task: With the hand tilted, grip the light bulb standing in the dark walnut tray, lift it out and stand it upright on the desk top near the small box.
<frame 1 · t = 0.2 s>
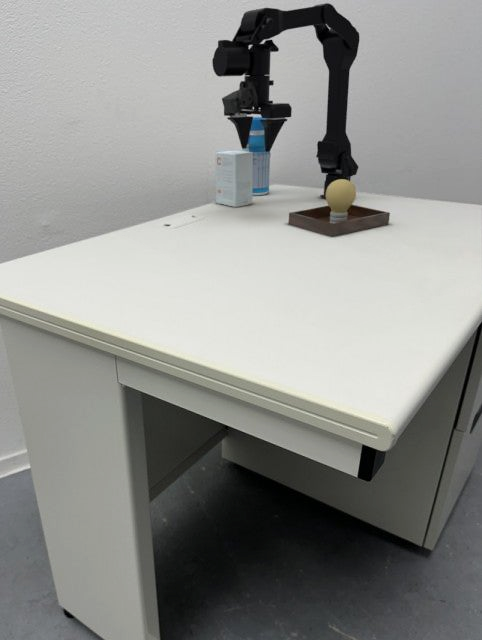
hand: (255, 150, 130), 15 cm above the table, tool pointing down, fingers open, 9 cm apart
walnut tray: (337, 224, 124), on the table
light bulb: (337, 227, 122), resting on walnut tray
beverage bottle: (254, 193, 159), on the table
small box: (234, 204, 147), on the table
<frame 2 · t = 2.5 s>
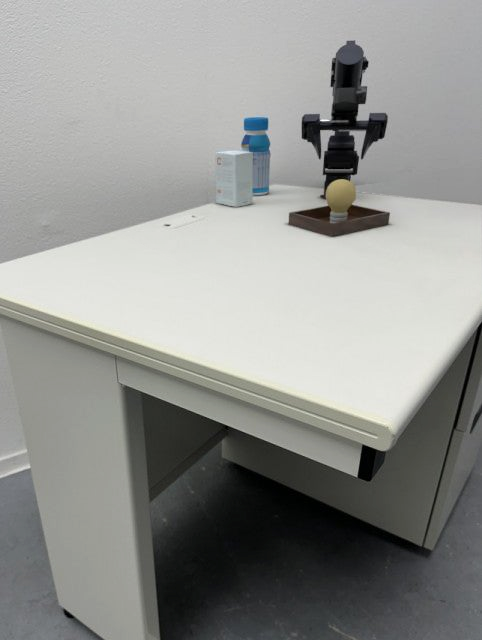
hand: (340, 158, 122), 13 cm above the table, tool tilted 45°, fingers open, 9 cm apart
nothing on the table moved.
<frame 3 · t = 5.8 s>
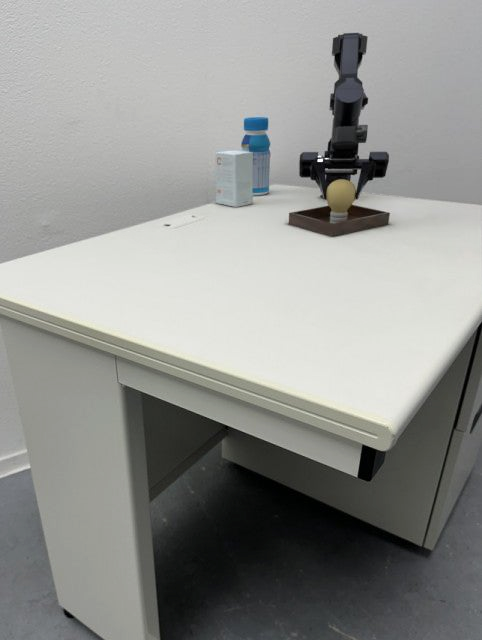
hand: (340, 198, 117), 7 cm above the table, tool tilted 45°, fingers closed on light bulb, 6 cm apart
light bulb: (337, 227, 122), resting on walnut tray, touching gripper
everything else where it was.
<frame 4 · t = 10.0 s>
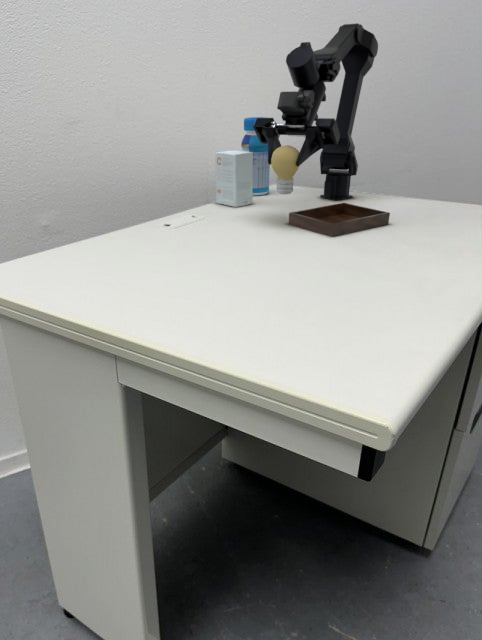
hand: (282, 164, 118), 13 cm above the table, tool tilted 45°, fingers closed on light bulb, 6 cm apart
light bulb: (284, 194, 122), point 7 cm above the table, touching gripper
everything else where it was.
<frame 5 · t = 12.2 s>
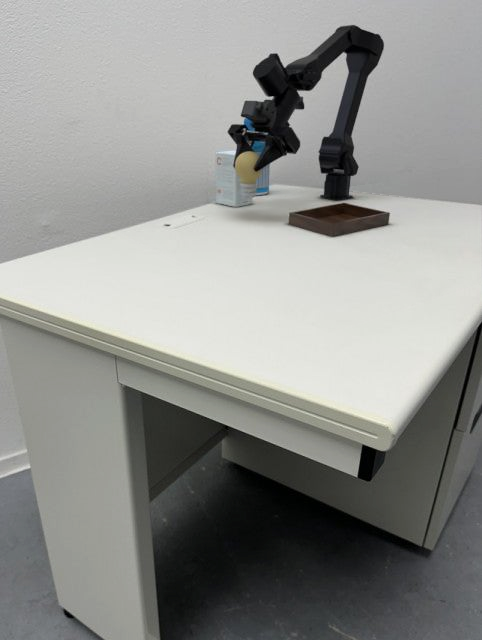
hand: (244, 169, 125), 12 cm above the table, tool tilted 45°, fingers closed on light bulb, 6 cm apart
light bulb: (248, 197, 129), point 5 cm above the table, touching gripper
everything else where it was.
when the fingers open (6 cm above the table, at t = 14.2 s): light bulb stays where it is, on the table.
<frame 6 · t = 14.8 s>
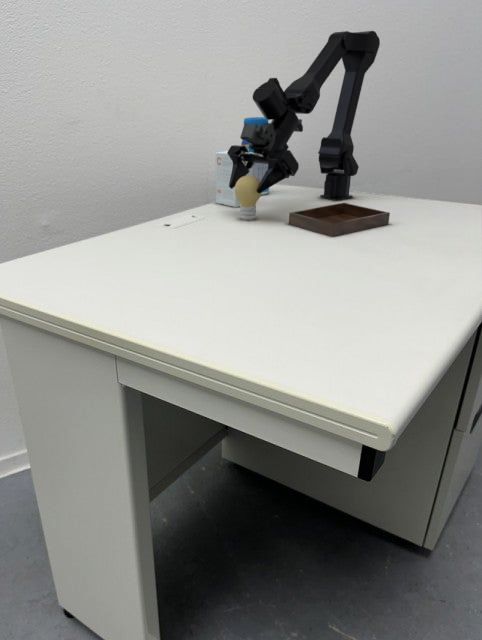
hand: (243, 189, 127), 7 cm above the table, tool tilted 45°, fingers open, 9 cm apart
light bulb: (248, 220, 131), on the table
everything else where it was.
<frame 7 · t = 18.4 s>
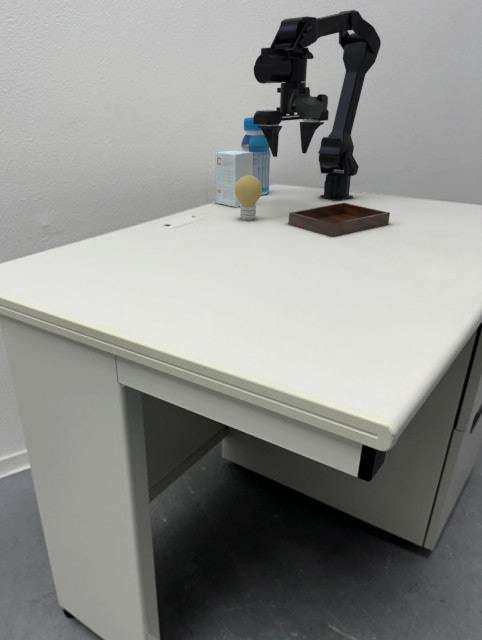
hand: (289, 155, 133), 13 cm above the table, tool pointing down, fingers open, 9 cm apart
nothing on the table moved.
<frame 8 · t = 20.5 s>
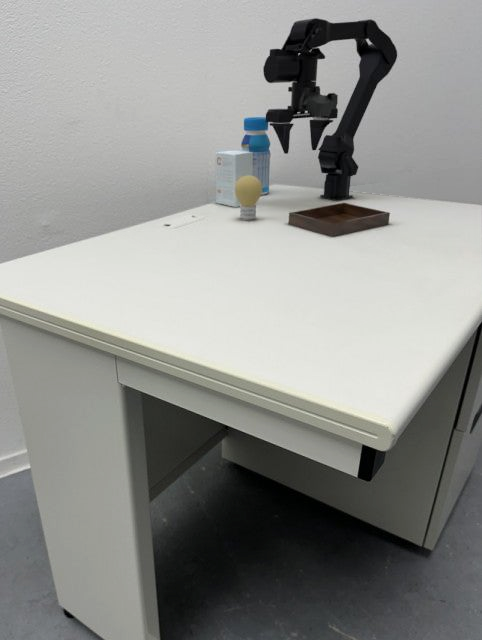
hand: (300, 151, 137), 13 cm above the table, tool pointing down, fingers open, 9 cm apart
nothing on the table moved.
at the end: light bulb inside the target area (0.1 cm from its centre), on the table; light bulb tilted 0°; light bulb 18.8 cm from the small box (horizontally) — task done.
